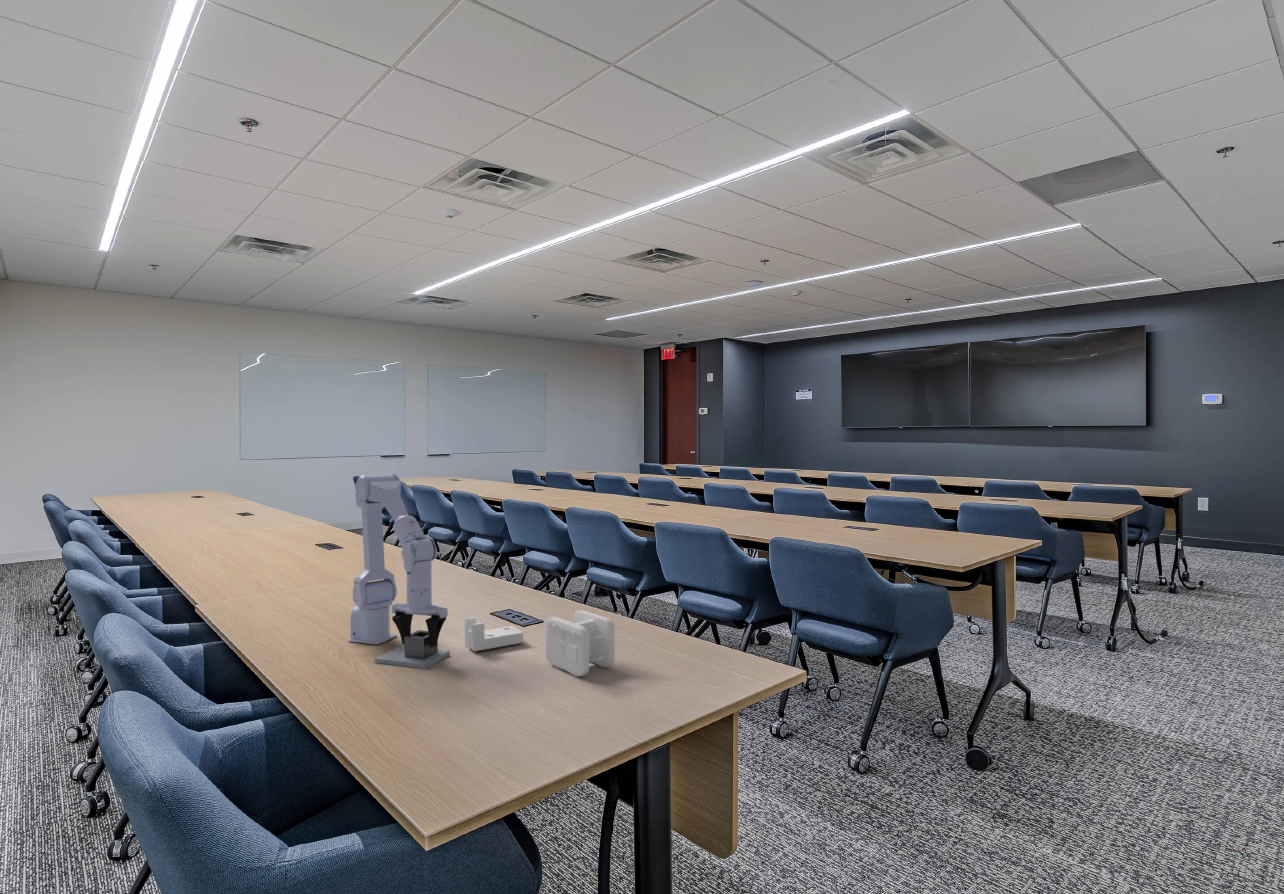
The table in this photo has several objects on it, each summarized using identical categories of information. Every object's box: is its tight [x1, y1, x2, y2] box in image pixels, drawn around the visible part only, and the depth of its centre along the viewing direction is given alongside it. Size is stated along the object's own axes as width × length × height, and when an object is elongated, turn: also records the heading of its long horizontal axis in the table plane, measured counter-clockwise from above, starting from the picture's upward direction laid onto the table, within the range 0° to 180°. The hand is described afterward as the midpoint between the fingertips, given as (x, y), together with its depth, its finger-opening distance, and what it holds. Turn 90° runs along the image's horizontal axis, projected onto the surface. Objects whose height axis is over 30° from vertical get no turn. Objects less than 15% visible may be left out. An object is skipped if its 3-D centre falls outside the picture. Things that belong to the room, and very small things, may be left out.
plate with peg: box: [374, 645, 450, 670], centre depth 164 cm, size 14×10×4 cm
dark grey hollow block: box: [404, 629, 439, 659], centre depth 164 cm, size 6×6×5 cm
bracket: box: [464, 616, 524, 652], centre depth 174 cm, size 13×7×8 cm, turn 123°
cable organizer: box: [545, 609, 616, 677], centre depth 158 cm, size 15×11×12 cm
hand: (419, 644), depth 163 cm, fingers open, 7 cm apart
